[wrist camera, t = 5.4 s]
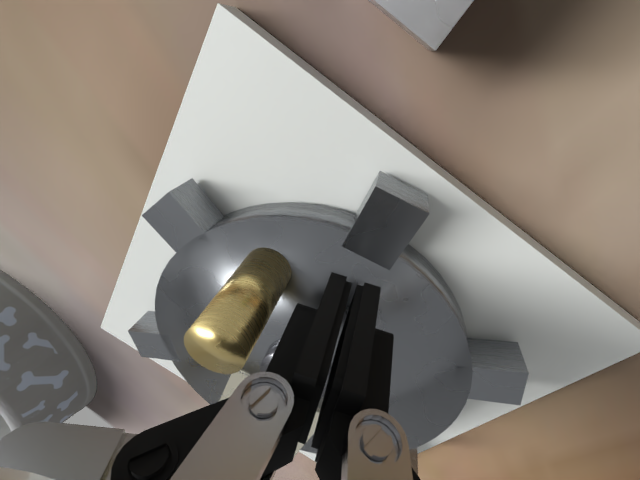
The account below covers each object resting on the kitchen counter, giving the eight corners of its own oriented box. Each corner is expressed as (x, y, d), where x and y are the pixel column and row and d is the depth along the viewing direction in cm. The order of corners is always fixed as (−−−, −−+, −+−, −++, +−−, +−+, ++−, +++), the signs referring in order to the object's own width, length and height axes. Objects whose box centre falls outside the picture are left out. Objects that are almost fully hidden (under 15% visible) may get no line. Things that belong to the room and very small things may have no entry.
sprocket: (537, 129, 9) (658, 207, 5) (506, 464, 17) (541, 621, 12) (80, 193, 15) (-72, 260, 10) (210, 426, 22) (157, 526, 18)
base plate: (639, 321, 13) (658, 343, 12) (353, 464, 23) (351, 483, 22) (235, 7, 11) (217, 2, 10) (115, 314, 21) (100, 327, 20)
